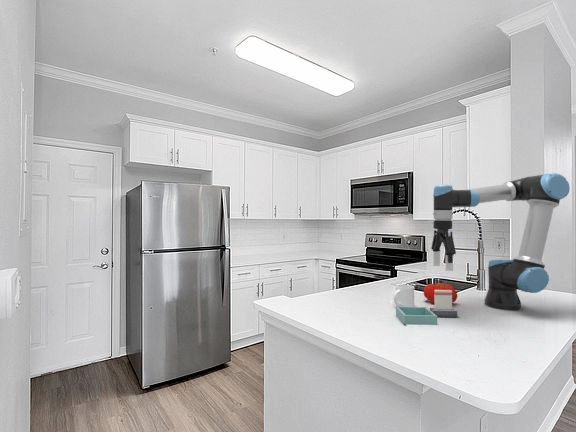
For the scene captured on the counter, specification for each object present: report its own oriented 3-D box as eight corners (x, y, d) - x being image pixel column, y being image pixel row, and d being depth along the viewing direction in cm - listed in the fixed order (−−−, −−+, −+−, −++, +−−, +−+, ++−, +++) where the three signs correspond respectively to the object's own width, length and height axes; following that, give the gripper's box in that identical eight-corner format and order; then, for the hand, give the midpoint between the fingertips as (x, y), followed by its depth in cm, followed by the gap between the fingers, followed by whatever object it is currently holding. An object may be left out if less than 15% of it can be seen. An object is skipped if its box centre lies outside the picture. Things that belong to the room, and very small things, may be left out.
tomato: (438, 298, 174) (438, 280, 174) (463, 306, 159) (463, 286, 159) (416, 300, 170) (416, 282, 170) (440, 309, 154) (440, 288, 154)
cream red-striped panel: (450, 314, 143) (450, 290, 143) (452, 315, 142) (452, 290, 142) (434, 314, 144) (434, 289, 144) (435, 315, 142) (435, 290, 142)
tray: (425, 316, 143) (425, 307, 143) (437, 326, 130) (437, 316, 130) (395, 315, 144) (395, 306, 144) (404, 325, 131) (404, 315, 131)
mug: (400, 311, 150) (400, 289, 150) (387, 307, 157) (387, 286, 157) (417, 308, 156) (417, 286, 156) (404, 304, 163) (403, 283, 163)
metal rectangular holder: (453, 314, 146) (453, 306, 146) (461, 319, 138) (461, 311, 138) (426, 313, 147) (426, 306, 147) (432, 319, 139) (432, 311, 139)
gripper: (424, 219, 155) (424, 263, 155) (445, 220, 131) (445, 272, 131) (440, 219, 155) (440, 264, 155) (465, 220, 130) (464, 272, 130)
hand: (442, 268), depth 143 cm, fingers open, 13 cm apart
